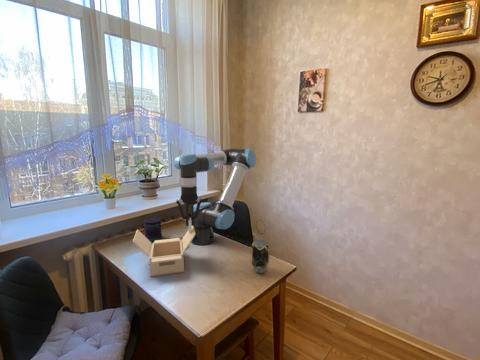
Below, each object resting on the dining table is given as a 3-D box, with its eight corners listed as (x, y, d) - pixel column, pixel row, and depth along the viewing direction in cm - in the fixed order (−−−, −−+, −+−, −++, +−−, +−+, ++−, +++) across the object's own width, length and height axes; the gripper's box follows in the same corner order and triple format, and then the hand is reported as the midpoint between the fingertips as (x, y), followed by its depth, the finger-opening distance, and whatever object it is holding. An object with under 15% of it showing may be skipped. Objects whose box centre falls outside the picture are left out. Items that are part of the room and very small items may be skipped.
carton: (181, 252, 138) (181, 237, 137) (184, 276, 115) (183, 257, 113) (153, 256, 134) (152, 240, 133) (150, 280, 111) (148, 262, 109)
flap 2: (194, 234, 118) (195, 234, 118) (192, 223, 132) (192, 224, 132) (183, 251, 118) (184, 252, 118) (182, 239, 132) (182, 239, 132)
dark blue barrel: (165, 242, 153) (164, 218, 151) (152, 247, 145) (151, 223, 142) (155, 238, 158) (153, 216, 156) (141, 244, 150) (140, 220, 148)
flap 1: (137, 229, 125) (136, 230, 125) (133, 241, 111) (132, 241, 111) (151, 242, 128) (150, 243, 128) (149, 255, 113) (148, 256, 113)
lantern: (248, 268, 122) (248, 219, 118) (260, 263, 126) (261, 215, 123) (260, 275, 115) (260, 223, 111) (272, 270, 120) (273, 220, 116)
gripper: (201, 183, 126) (202, 228, 130) (175, 184, 123) (176, 230, 127) (203, 186, 119) (203, 233, 123) (175, 187, 116) (177, 235, 120)
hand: (190, 231), depth 125 cm, fingers closed
